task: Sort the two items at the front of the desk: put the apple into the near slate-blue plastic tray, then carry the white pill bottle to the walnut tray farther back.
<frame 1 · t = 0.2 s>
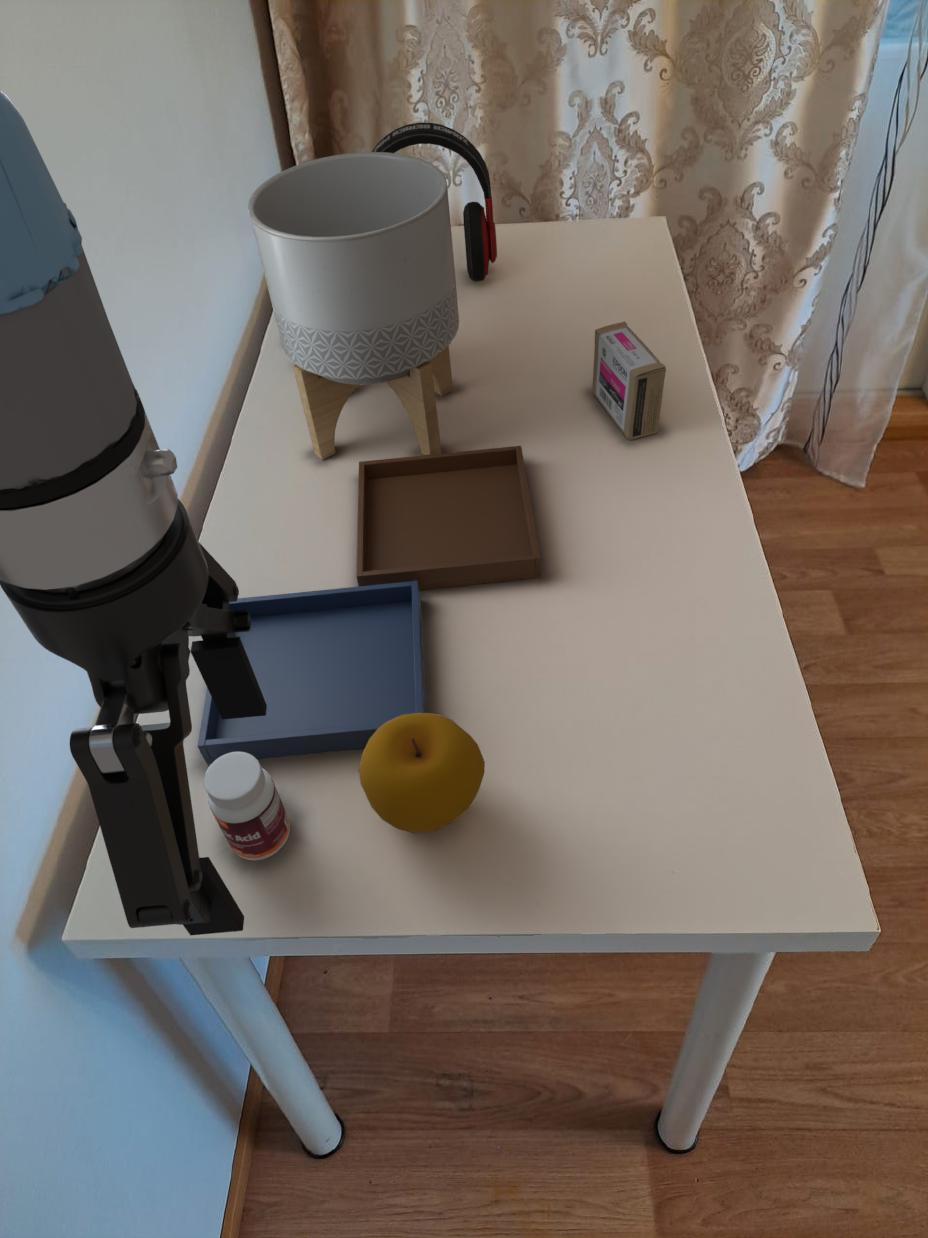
hand: (232, 810, 51), 17 cm above the table, tool pointing down, fingers open, 13 cm apart
ink box: (624, 414, 102), on the table
headphones: (434, 281, 126), on the table
medicine tray: (446, 526, 91), on the table
planter: (386, 422, 104), on the table
apple: (429, 807, 70), on the table
pill bottle: (261, 835, 70), on the table
fruit tray: (320, 676, 79), on the table
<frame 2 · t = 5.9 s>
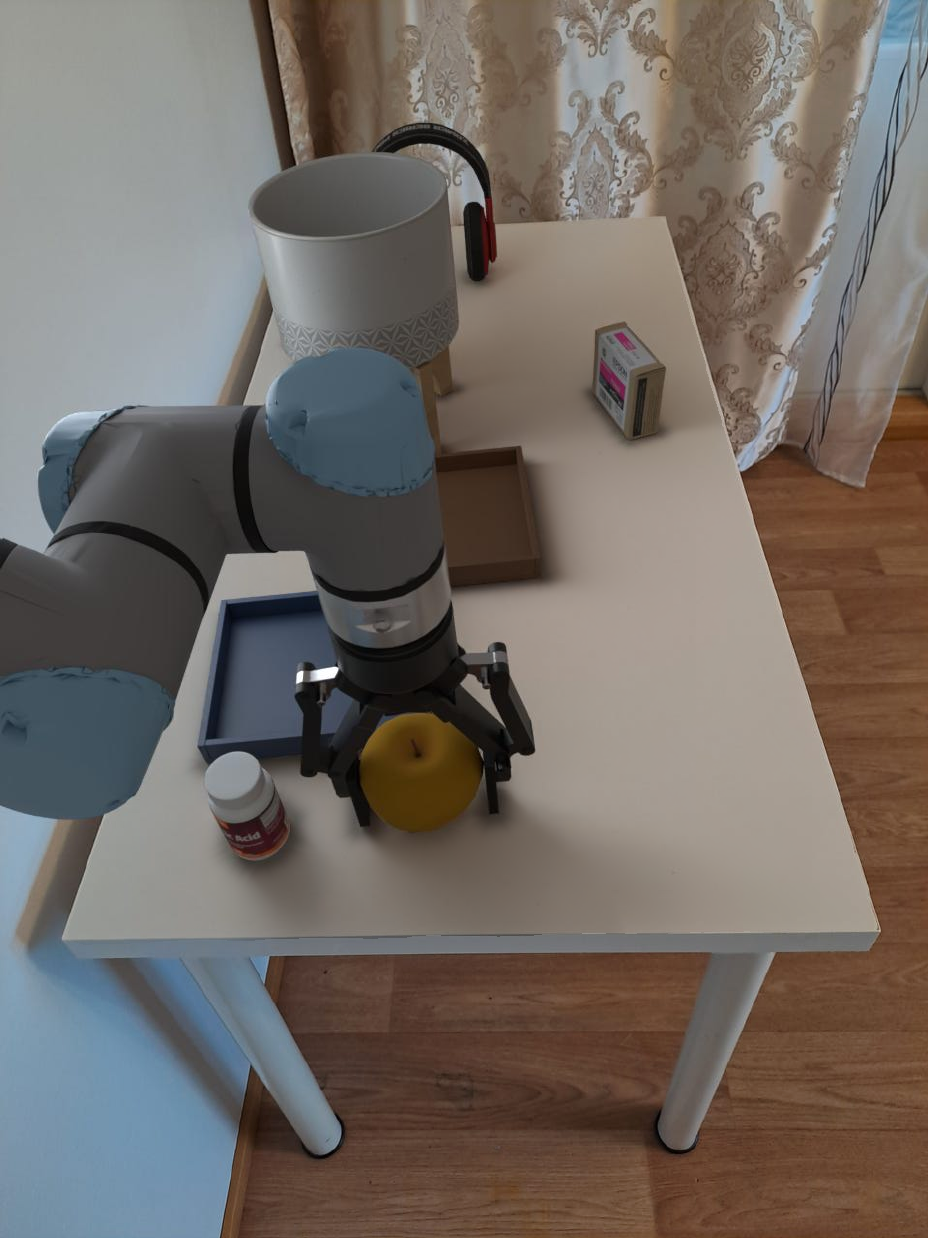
hand: (428, 804, 70), 0 cm above the table, tool pointing down, fingers closed on apple, 9 cm apart
apple: (428, 807, 70), on the table, touching gripper
everything else where it was.
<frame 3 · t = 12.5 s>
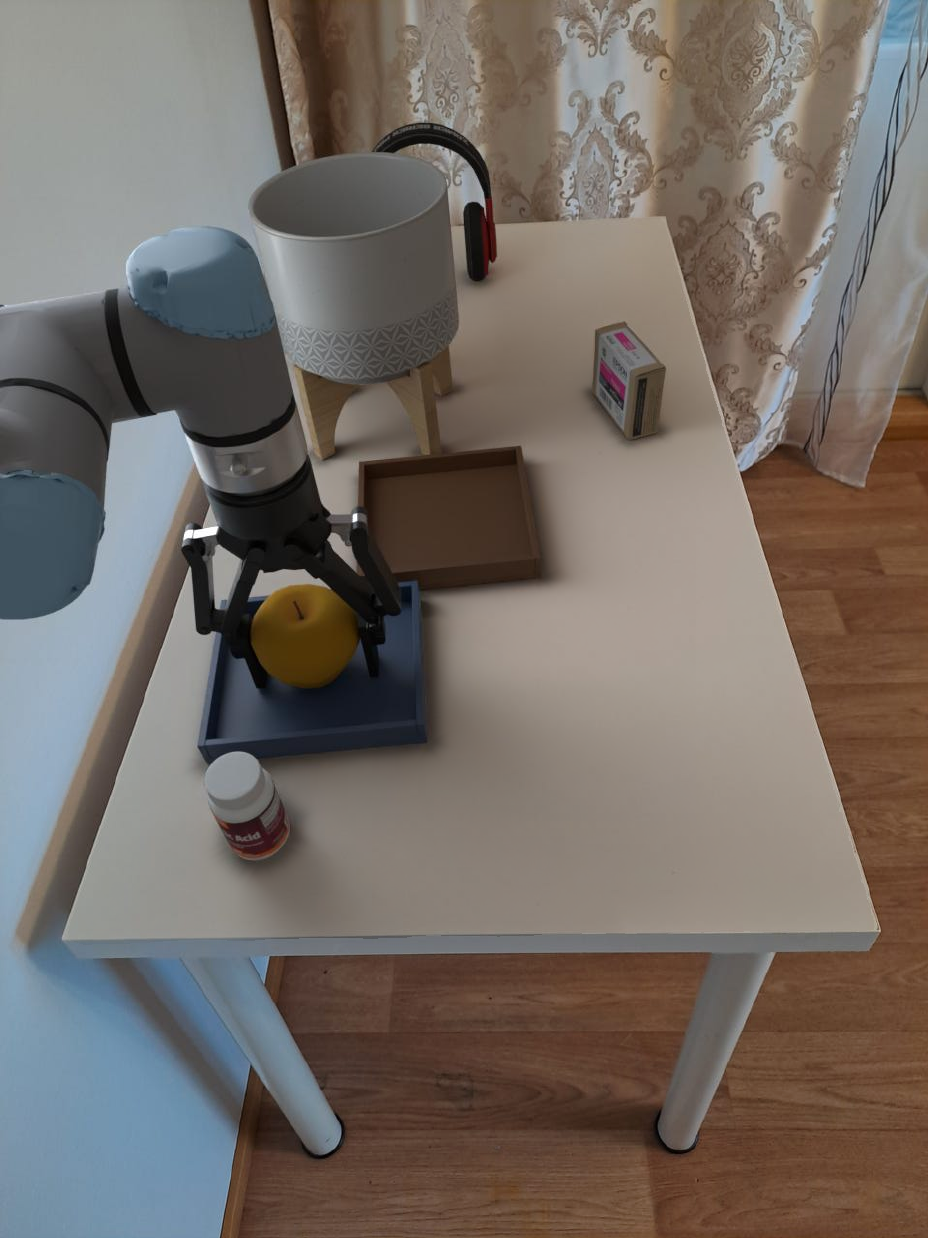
hand: (318, 670, 79), 1 cm above the table, tool pointing down, fingers closed on apple, 9 cm apart
apple: (318, 673, 79), resting on fruit tray, touching gripper
everything else where it was.
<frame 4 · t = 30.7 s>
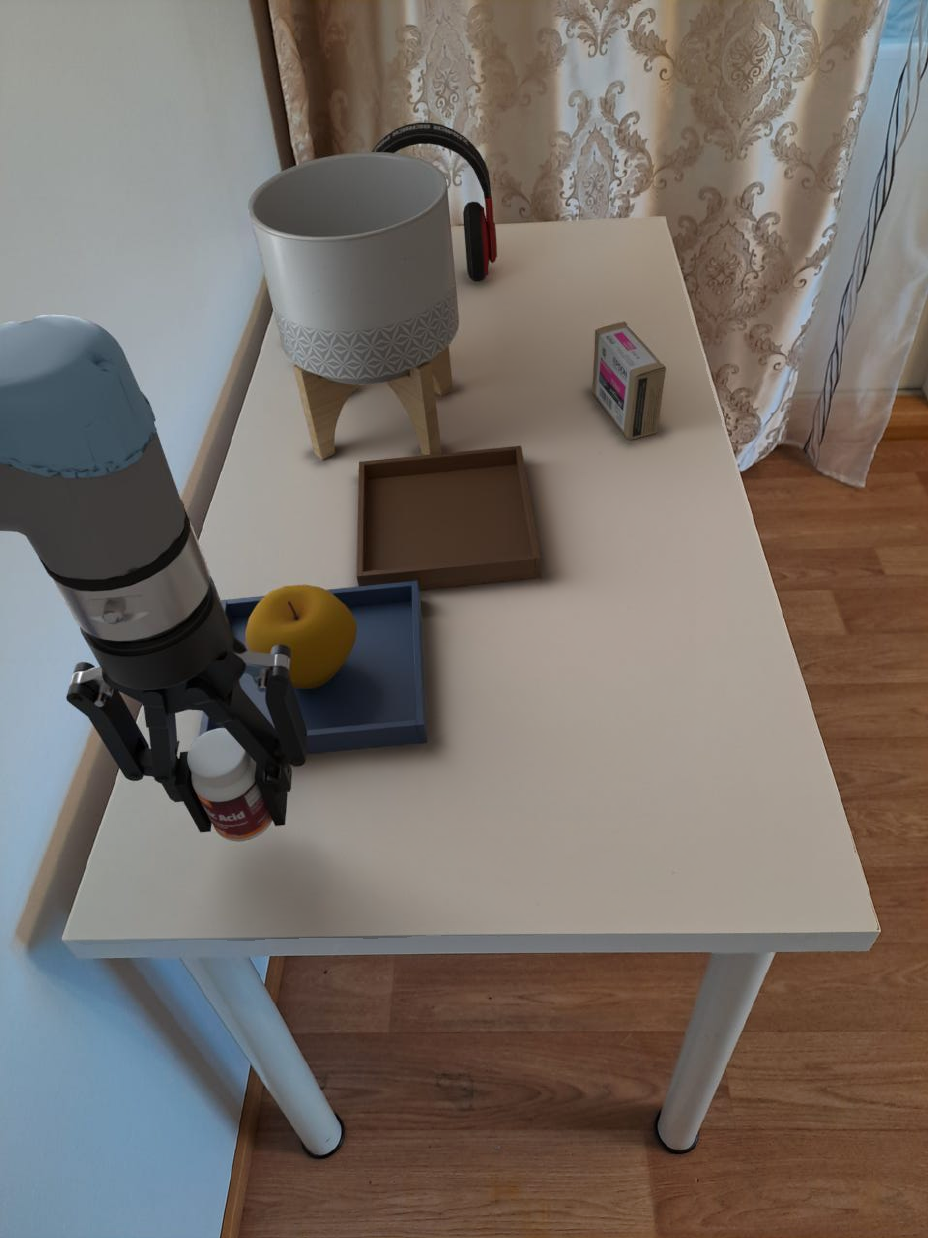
hand: (244, 812, 67), 3 cm above the table, tool pointing down, fingers closed on pill bottle, 5 cm apart
apple: (313, 674, 79), resting on fruit tray
pill bottle: (246, 816, 67), point 3 cm above the table, touching gripper
everything else where it was.
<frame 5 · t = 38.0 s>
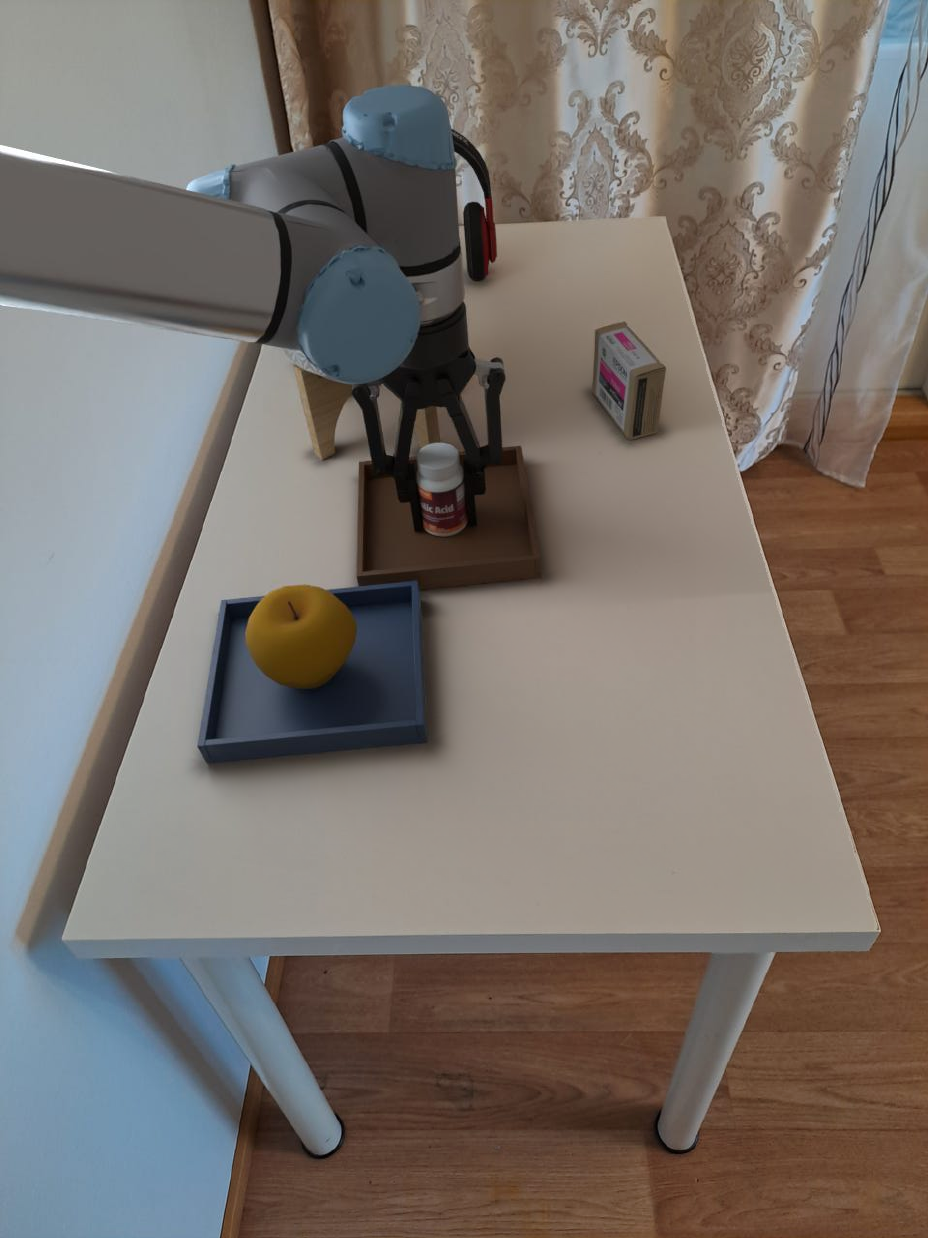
hand: (445, 519, 91), 1 cm above the table, tool pointing down, fingers closed on pill bottle, 5 cm apart
pill bottle: (445, 523, 91), resting on medicine tray, touching gripper
everything else where it was.
when the fingers open (2 cm above the table, at t = 41.7 s): pill bottle drops 1 cm, resting on medicine tray.
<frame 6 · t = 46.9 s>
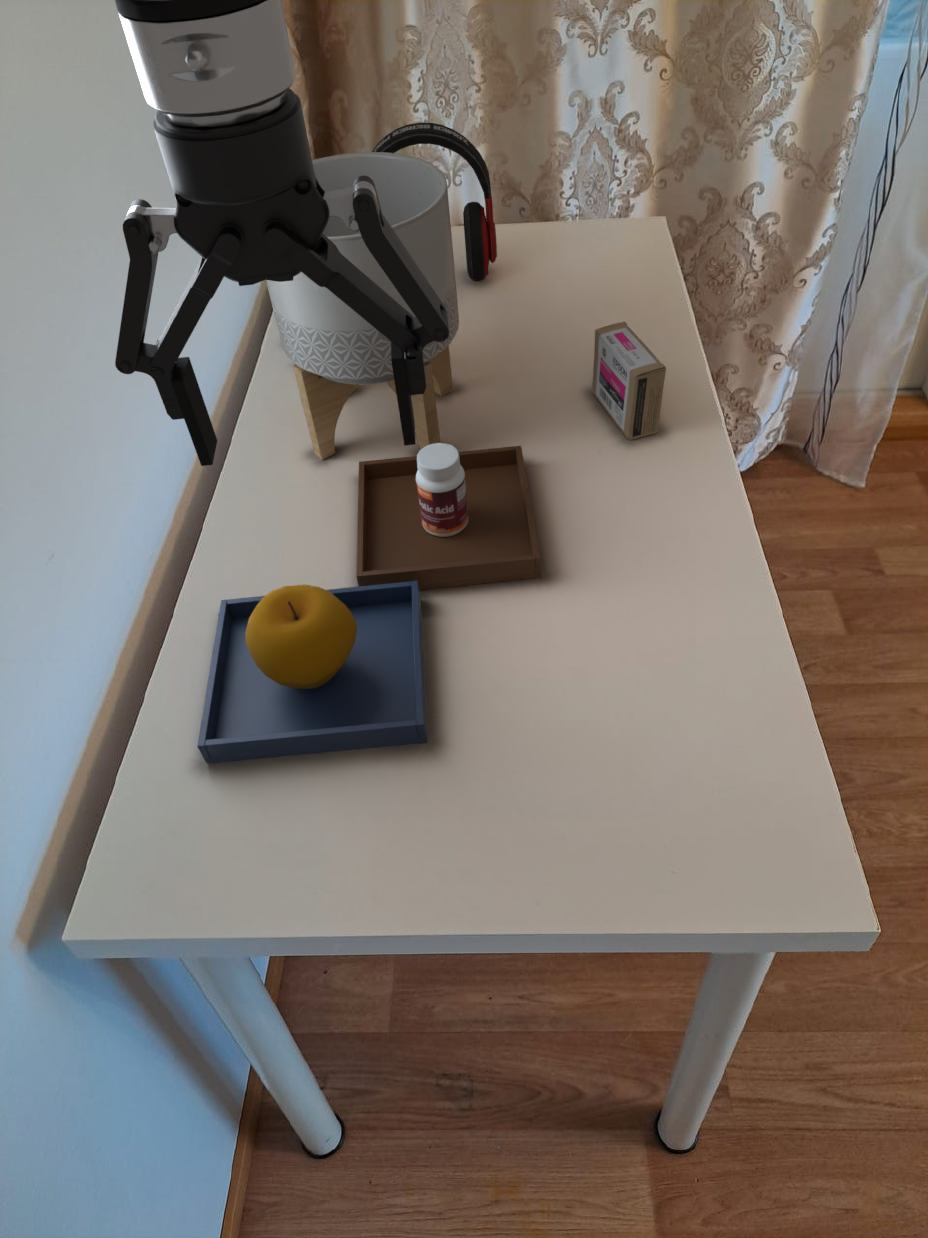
hand: (309, 443, 61), 25 cm above the table, tool pointing down, fingers open, 13 cm apart
pill bottle: (445, 523, 91), resting on medicine tray
everything else where it was.
at the end: apple inside the target area in the fruit tray (0.5 cm from its centre), point 0.4 cm above the fruit tray's base; pill bottle inside the target area in the medicine tray (0.1 cm from its centre), point 0.4 cm above the medicine tray's base; pill bottle tilted 0° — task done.
